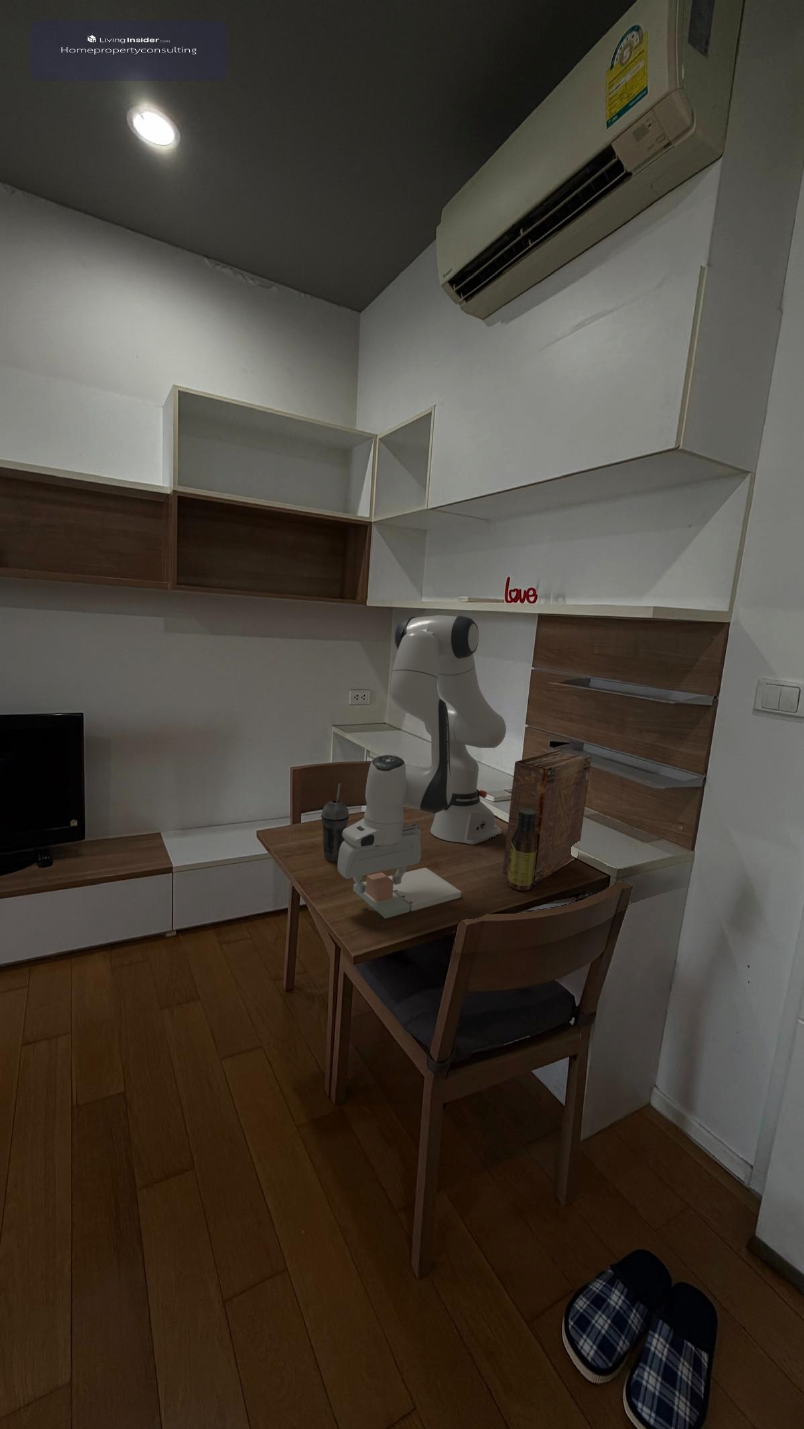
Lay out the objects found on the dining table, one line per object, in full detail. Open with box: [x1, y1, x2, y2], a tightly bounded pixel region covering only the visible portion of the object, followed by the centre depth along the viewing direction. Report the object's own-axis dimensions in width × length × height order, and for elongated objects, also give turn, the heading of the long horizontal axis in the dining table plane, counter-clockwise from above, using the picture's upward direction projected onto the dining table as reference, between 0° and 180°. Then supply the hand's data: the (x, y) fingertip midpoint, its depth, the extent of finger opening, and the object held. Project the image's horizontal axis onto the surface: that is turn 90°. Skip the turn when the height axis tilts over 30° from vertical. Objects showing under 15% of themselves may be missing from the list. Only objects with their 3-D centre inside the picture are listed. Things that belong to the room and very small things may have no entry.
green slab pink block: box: [352, 871, 411, 919], centre depth 129 cm, size 6×14×6 cm, turn 34°
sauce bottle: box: [507, 808, 537, 892], centre depth 140 cm, size 7×6×20 cm
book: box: [502, 748, 592, 886], centre depth 153 cm, size 25×9×30 cm, turn 138°
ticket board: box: [387, 867, 462, 912], centre depth 136 cm, size 14×14×2 cm
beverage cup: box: [320, 783, 350, 862], centre depth 149 cm, size 7×7×20 cm
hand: (378, 887), depth 129 cm, fingers open, 8 cm apart
